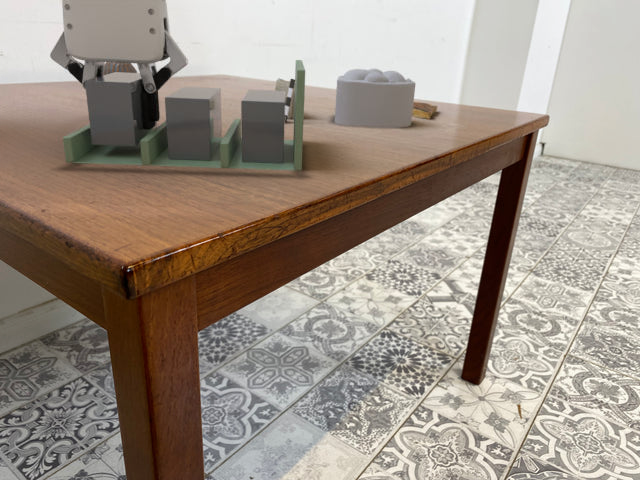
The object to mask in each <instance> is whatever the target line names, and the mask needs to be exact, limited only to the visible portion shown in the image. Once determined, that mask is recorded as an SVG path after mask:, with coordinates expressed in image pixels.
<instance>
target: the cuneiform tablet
mask: <svg viewBox="0 0 640 480" xmlns="http://www.w3.org/2000/svg"><path fill="white" fill-rule="evenodd" d="M273 91H285V92H286V93H285V124H287V121H288V120H294V100H295V78H290V80H285V79H283V78H279V77H278V79H276V81H275V85H274V90H273ZM305 95H306V94H304V100H305V97H306V96H305Z"/></svg>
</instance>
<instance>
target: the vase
mask: <svg viewBox="0 0 640 480" xmlns="http://www.w3.org/2000/svg"><path fill="white" fill-rule="evenodd" d="M114 72H124V73H138V71H137V69H136V68H135V66H134V65H133V63H117V62H105V64H104V72H103V75H107V74H111V73H114Z"/></svg>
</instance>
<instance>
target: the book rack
mask: <svg viewBox="0 0 640 480" xmlns="http://www.w3.org/2000/svg"><path fill="white" fill-rule="evenodd" d="M294 71H295V72H294V76H295V77H294V80H295V100H294V119H293V133H292V134H293V135H292V137H293V138H292V139H293V140H292V139H284V160H283V163H258V162H242V126H241V118H234V119H233V121H232V123H231V125H230V126H229V128H228V130H227V131H226V133H225V135H224V137H222V142H221V143H220V146H219V147H218V149H217V151H216V152H215V154H214V156H213V158H212V159H211V161H203V160H174V159H169V156H168V140H167V124H166V120H164V122H162V123H161V124H160V125H157V128H156V129H154V130H153V131H152V132H151V133H149V134H148V135H147V136H145V137H144V138H143V139H142V140H140V143H139V144H138V145H136V146H116V145H92V139H91V130H90V123H89V124H87V125H85V126H83V127H81V128H79V129H77V130H75V131H73V132H71V133H69V134H67V135H65V136H62V143H63V151H64V157H65V162H66V163H70V164H73V163H74V164H97V165H100V164H101V165H127V166H129V165H130V166H154V167H155V166H158V167H184V168H185V167H186V168H187V167H188V168H218V169H243V170H244V169H247V170H248V169H249V170H273V171H274V170H275V171H300V172H301V171H302V170H303V148H304V147H303V145H304V142H303V141H304V122H305V121H304V120H305V119H304V117H305V99H304V95H306V93H305V91H306V90H305V89H306V69H305V65H304V62H303V60H302V59H296V60H295V70H294Z"/></svg>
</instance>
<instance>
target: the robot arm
mask: <svg viewBox="0 0 640 480" xmlns="http://www.w3.org/2000/svg"><path fill="white" fill-rule="evenodd" d="M61 3H62V4H61V5H62V23H63V31H62V33H61V35H60V37H59V38H58V40H57V42H56V43H55V45H54V47H53V48H52V50H51V51H50V54H49V56H50V58H51V60H52V61H53V62H54V63H56V64H58V66H61V67H62V68H63V69H64V70H67V71H68V72H69V74H70V75H72V76H73V78H75V79H76V80H77V81H78V82H79V83H80V84H81V86H82V88H83V89H84V90H85V91H86V87H85V80H89V79H93V78H96V77H100V76H103V72H104V65H105V63H106V62H117V63H131V64H136V65H137V68H138V71H139V72H138V73H140V75H141V78H142V81H143V85H144V87H143V93H142V94H141V105H142V118H143V128H144V129H145V130H150V129H152V128H153V127H154V126H155V125H156V121H157V122H159V121H160V117H161V115H160V113H161V112H160V101H159V99H160V98H159V90H161V89H162V87H163V86H164V85H165V84H166V83H167V82H168V81H169V80H170V79H171V78H172V77H173V76H174V75H176V74H177V73H179V72H180V71H182V70H183V69H184V68H185V67H187V66H188V64H189V60H188V58H187V56H186V55H185V54H184V52H183V51H182V50H181V48H180V47H179V45H178V44H177V42H176V41H175V39H173V37H172V36H171V30H170V22H169V21H170V20H169V15H168V12H169V11H168V6H167V5H168V4H167V0H61ZM167 59H169V62H168V63H167V64H165V65H164V66H163V67H161V68H160V69H159V70H158V69H157V65H156V63H158V62H163V61H165V60H167ZM78 60H80V61H84V64H83V63H82V62H80V61H78Z"/></svg>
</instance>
